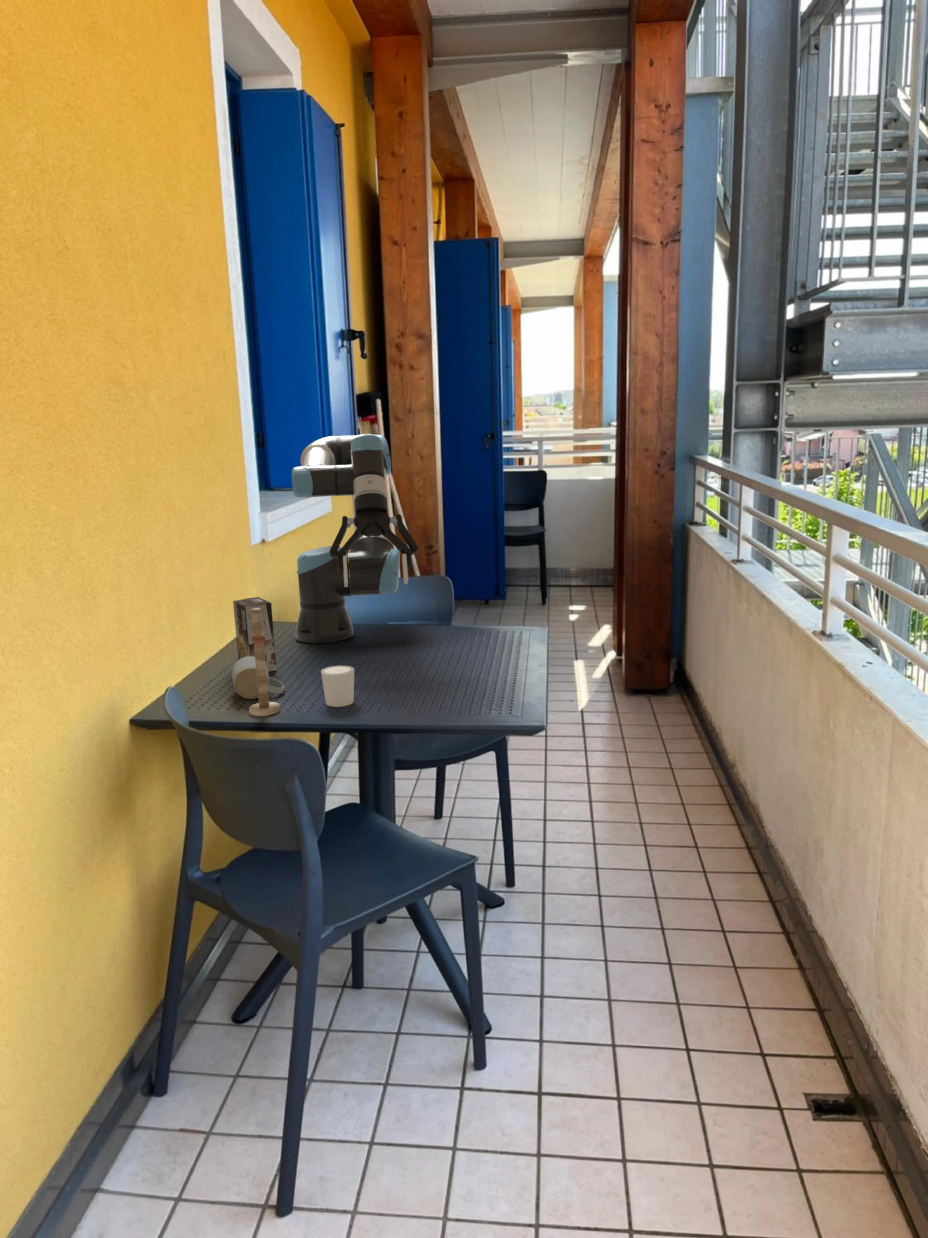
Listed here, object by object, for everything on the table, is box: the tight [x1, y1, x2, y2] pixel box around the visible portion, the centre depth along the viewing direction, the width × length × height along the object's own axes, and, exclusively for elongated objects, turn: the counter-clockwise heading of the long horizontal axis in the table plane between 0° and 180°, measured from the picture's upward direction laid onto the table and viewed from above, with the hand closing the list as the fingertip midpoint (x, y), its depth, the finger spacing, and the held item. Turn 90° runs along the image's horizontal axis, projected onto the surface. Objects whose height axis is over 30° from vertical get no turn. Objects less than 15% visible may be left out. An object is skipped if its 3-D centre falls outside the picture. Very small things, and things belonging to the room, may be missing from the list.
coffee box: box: [232, 596, 277, 673], centre depth 211 cm, size 9×6×16 cm
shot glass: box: [320, 665, 355, 708], centre depth 186 cm, size 7×7×7 cm
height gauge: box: [248, 608, 281, 717], centre depth 180 cm, size 6×6×21 cm
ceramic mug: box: [231, 656, 286, 700], centre depth 193 cm, size 11×8×8 cm
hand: (376, 583), depth 207 cm, fingers open, 13 cm apart
